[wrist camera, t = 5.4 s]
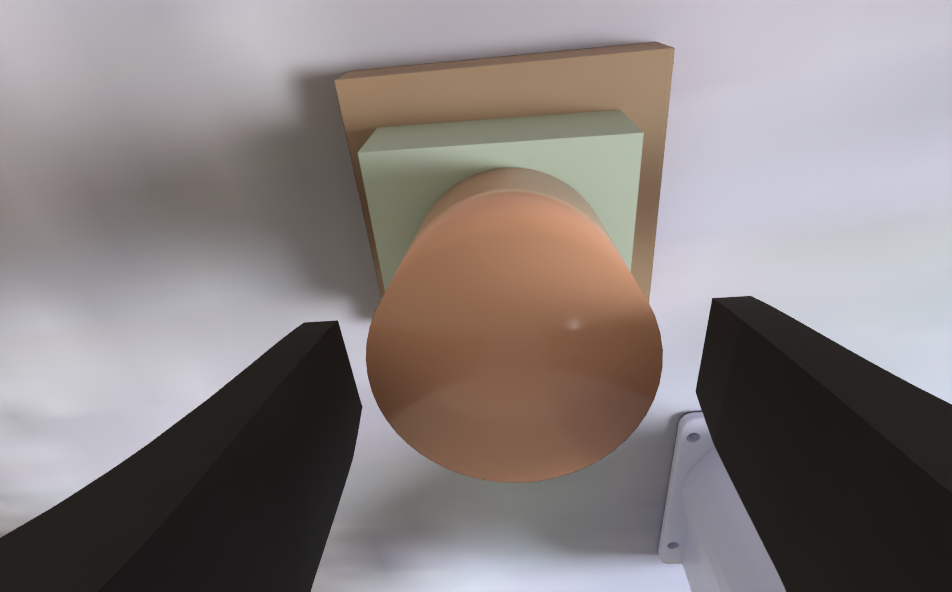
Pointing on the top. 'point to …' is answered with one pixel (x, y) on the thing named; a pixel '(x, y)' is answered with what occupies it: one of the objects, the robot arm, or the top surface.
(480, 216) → the terracotta cylinder
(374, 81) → the tower base
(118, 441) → the top surface
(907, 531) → the robot arm
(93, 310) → the top surface
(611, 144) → the tower top
